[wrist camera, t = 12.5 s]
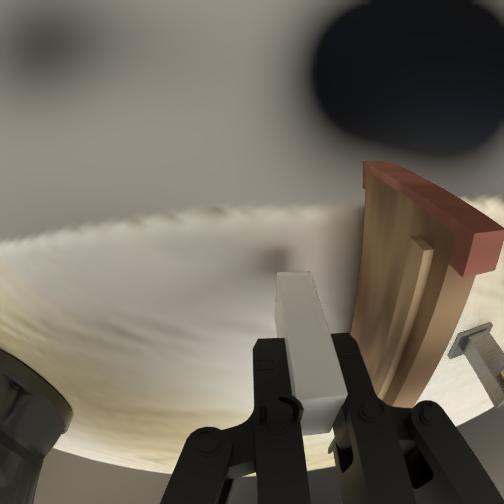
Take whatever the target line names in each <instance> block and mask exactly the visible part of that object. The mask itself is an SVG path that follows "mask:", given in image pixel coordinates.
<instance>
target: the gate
mask: <svg viewBox="0 0 504 504" xmlns="http://www.w3.org/2000/svg"><path fill="white" fill-rule="evenodd" d="M363 188H364V189H365V190H366V195H365V215H364V230H363V242H362V253H361V263H360V272H359V280H358V288H357V296H356V303H355V309H354V316H353V322H352V328H351V334H350V335H351V336H352V337H353V338H354V339H355V340H356V341H357V344H358V346H359V349H360V353H361V354H362V357H363V360H364V362H365V365H366V368H367V371H368V374H369V376H370V379H371V382H372V385H373V388H374V391H375V393H376V395H377V397H378V398H380V399H381V400H382V401H384V402H385V403H386V404H387V405H390V406H394V407H404V408H413V406H414V405H415V403H416V402H417V400H418V399H419V397H420V395H421V394H422V392H423V390H424V389H425V387H426V385H427V384H428V382H429V380H430V378H431V376H432V375H433V373H434V371H435V369H436V367H437V365H438V364H439V362H440V360H441V358H442V356H443V354H444V352H445V350H446V348H447V346H448V343H449V341H450V339H451V337H452V335H453V333H454V330H455V328H456V326H457V324H458V321H459V319H460V316H461V314H462V312H463V309H464V306H465V304H466V301H467V299H468V296H469V293H470V290H471V288H472V285H473V282H474V279H475V276H476V275H477V274H481V273H485V272H490V271H494V270H495V268H496V265H497V262H498V259H499V255H500V252H501V248H502V245H503V241H504V228H503V227H502V226H501V225H499V224H498V223H496V222H495V221H493V220H492V219H491V218H489V217H488V216H486V215H485V214H483V213H482V212H480V211H479V210H477V209H476V208H474V207H473V206H471V205H469V204H468V203H466V202H465V201H463V200H461V199H460V198H458V197H456V196H455V195H453V194H451V193H450V192H448V191H446V190H445V189H443V188H441V187H439V186H437V185H436V184H434V183H432V182H430V181H428V180H427V179H425V178H423V177H421V176H419V175H417V174H415V173H413V172H411V171H409V170H407V169H405V168H403V167H401V166H399V165H397V164H395V163H393V162H391V161H363Z"/></svg>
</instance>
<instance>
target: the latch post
mask: <svg viewBox="0 0 504 504" xmlns="http://www.w3.org/2000/svg"><path fill="white" fill-rule="evenodd" d="M492 326H493V325H492V323H491V322H490V323H487V324H484V325H482V326H479V327H476V328H474V329H471V330H468V331H465V332H462V333H459V334H458V336H457V338H456V340H455V342H454V344H453V346H452V348H451V350H450V352H449V354H448V357H449V359H452V358H455V357H457V356H460V355H462V354H465V356H466V358H467V359H468V361H469V363H470V364H471V366H472V367H473V369H474V371H475V372H476V374H477V376H478V378H479V379H480V381H481V383H482V385H483V386H484V388H485V390H486V392H487V393H488V395H489V397H490V399H491V401H492V403H493V405H494V407H495V408H498V407H500V406H501V405H503V404H504V353H503V351H502V350H501V348H500V347H499V345H498V344H497V343H496V341H495V340H494V338H493V337H492V336H491V334H490V333H489V332H490V330H491V328H492Z"/></svg>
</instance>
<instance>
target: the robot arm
mask: <svg viewBox="0 0 504 504" xmlns="http://www.w3.org/2000/svg"><path fill="white" fill-rule="evenodd" d="M275 321H276V329H277V338H266V339H258V340H257V342H256V344H255V346H254V348H253V381H254V411H253V413H252V415H251V416H250V417H249V419H248V420H247V421H245V422H244V423H242V424H240V425H238V426H235V427H231V428H228V429H224V430H220V429H218V428H215V427H203V428H199V429H197V430H195V431H194V432H192V433H191V434H190V436H189V437H188V438H187V440H186V442H185V445H184V447H183V450H182V452H181V454H180V457H179V459H178V462H177V464H176V466H175V469H174V471H173V474H172V476H171V479H170V481H169V483H168V485H167V488H166V490H165V493H164V495H163V497H162V500H161V502H160V504H228V501H229V498H230V495H231V492H232V489H233V485H234V482H235V479H236V478H238V477H242V476H245V475H248V474H251V473H254V472H256V485H257V504H311V501H310V492H309V484H308V477H307V468H306V460H305V452H304V445H303V437H302V436H304V435H313V434H322V433H329V432H330V431H331V429H332V427H333V430H334V435H335V437H334V439H333V441H332V443H331V444H330V446H329V448H328V454H329V453H331V452H332V451H333V453H334V458H335V464H336V469H337V476H338V481H339V488H340V494H341V500H342V504H504V500H503V498H502V497H501V495H500V493H499V492H498V490H497V488H496V487H495V485H494V483H493V482H492V480H491V479H490V477H489V475H488V474H487V472H486V471H485V469H484V468H483V466H482V465H481V463H480V462H479V460H478V459H477V457H476V456H475V454H474V453H473V451H472V450H471V448H470V447H469V445H468V444H467V443H466V441H465V440H464V438H463V437H462V435H461V434H460V432H459V431H458V430H457V428H456V427H455V425H454V424H453V422H452V421H451V420H450V418H449V417H448V416H447V414H446V413H445V411H444V410H443V409H442V407H441V406H439V405H438V404H437V403H435V402H433V401H428V400H424V401H421V402H419V403H417V404H416V405H415V406H414V407H413V408H404V407H394V406H390V405H387V404H386V403H385V402H384V401H382V400H381V399H380V398H378V397H377V395H376V393H375V391H374V388H373V385H372V382H371V379H370V376H369V374H368V371H367V368H366V365H365V362H364V360H363V357H362V354H361V353H360V349H359V346H358V344H357V341H356V340H355V339H354V338H353V337H352V336H351V335H350V334H349V333H337V334H330V331H329V328H328V325H327V322H326V319H325V316H324V312H323V309H322V306H321V303H320V300H319V297H318V294H317V291H316V288H315V285H314V282H313V279H312V276H311V273H310V271H297V272H277V286H276V309H275ZM72 416H73V414H72V411H71V409H70V407H69V405H68V404H67V403H66V401H65V400H64V399H63V398H62V397H61V396H60V395H59V393H58V392H57V391H55V390H54V389H53V388H52V387H51V386H50V385H49V384H48V383H47V382H46V381H44V380H43V379H42V378H41V377H40V376H38V375H37V374H36V373H35V372H33V371H32V370H31V369H29V368H28V367H27V366H25V365H24V364H23V363H21V362H20V361H18V360H17V359H15V358H14V357H12V356H10V355H9V354H7V353H5V352H3V351H1V350H0V504H33V501H34V496H35V491H36V487H37V483H38V479H39V475H40V471H41V467H42V464H43V460H44V458H45V456H46V455H47V453H48V452H49V451H50V450H51V448H52V447H53V446H54V445H55V443H56V442H57V440H58V439H59V437H60V435H61V434H64V433H65V432H66V431H67V430H68V428H69V425H70V422H71V419H72Z"/></svg>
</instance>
